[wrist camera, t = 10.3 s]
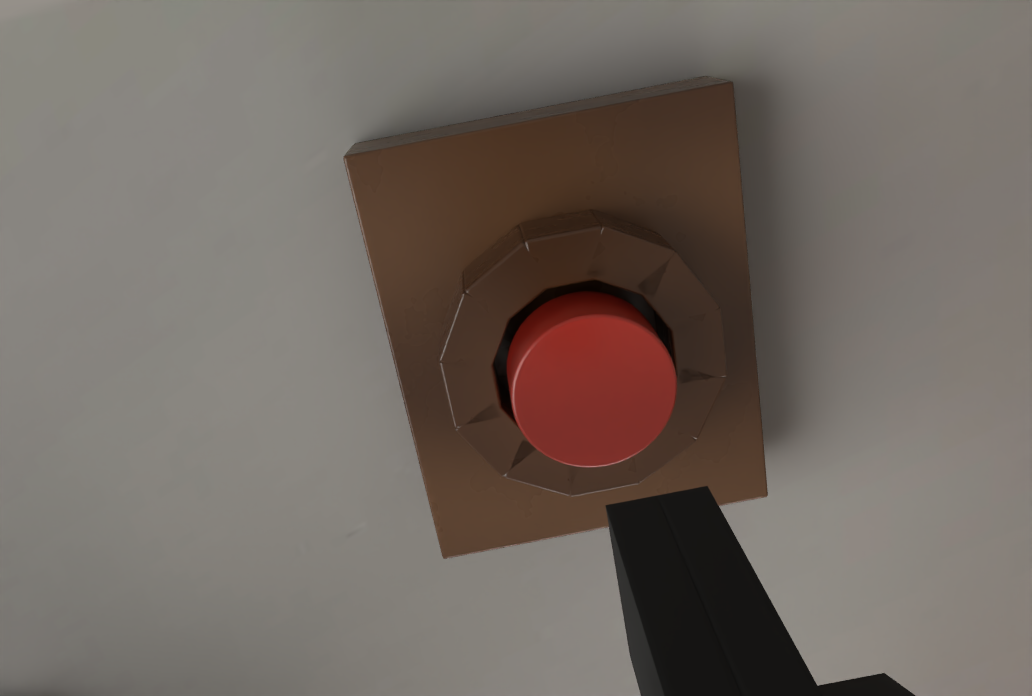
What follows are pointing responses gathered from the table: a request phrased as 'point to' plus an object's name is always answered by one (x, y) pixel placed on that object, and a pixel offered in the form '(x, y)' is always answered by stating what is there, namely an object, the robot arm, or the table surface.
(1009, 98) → the table surface
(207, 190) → the table surface
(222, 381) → the table surface
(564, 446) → the button
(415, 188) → the button block
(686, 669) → the robot arm
